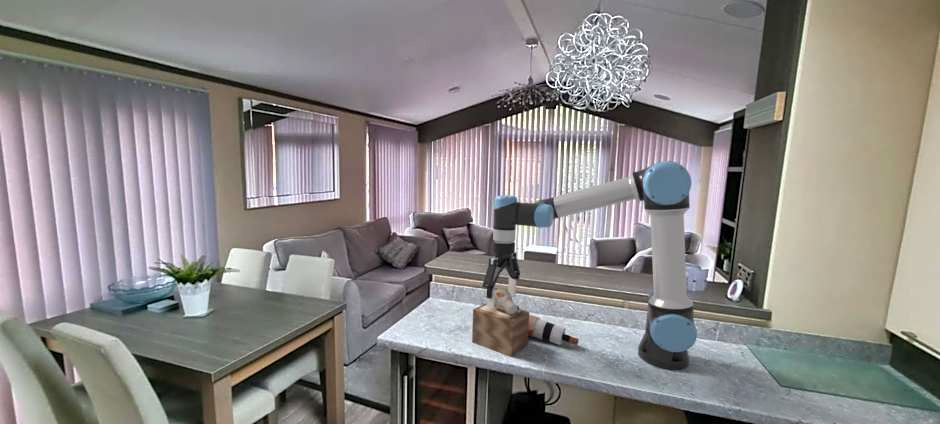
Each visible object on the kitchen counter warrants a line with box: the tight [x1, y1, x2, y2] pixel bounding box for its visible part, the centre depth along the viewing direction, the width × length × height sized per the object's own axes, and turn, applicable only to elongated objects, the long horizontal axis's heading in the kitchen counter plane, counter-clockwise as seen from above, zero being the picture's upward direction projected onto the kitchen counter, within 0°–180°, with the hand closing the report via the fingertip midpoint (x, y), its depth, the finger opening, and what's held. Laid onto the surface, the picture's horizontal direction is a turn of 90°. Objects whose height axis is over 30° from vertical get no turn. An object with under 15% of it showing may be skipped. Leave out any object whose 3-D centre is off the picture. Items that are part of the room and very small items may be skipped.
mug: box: [495, 287, 521, 315], centre depth 133 cm, size 8×10×10 cm
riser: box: [471, 302, 530, 358], centre depth 135 cm, size 16×11×13 cm
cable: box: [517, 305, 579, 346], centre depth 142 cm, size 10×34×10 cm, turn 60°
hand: (501, 301), depth 134 cm, fingers open, 13 cm apart
